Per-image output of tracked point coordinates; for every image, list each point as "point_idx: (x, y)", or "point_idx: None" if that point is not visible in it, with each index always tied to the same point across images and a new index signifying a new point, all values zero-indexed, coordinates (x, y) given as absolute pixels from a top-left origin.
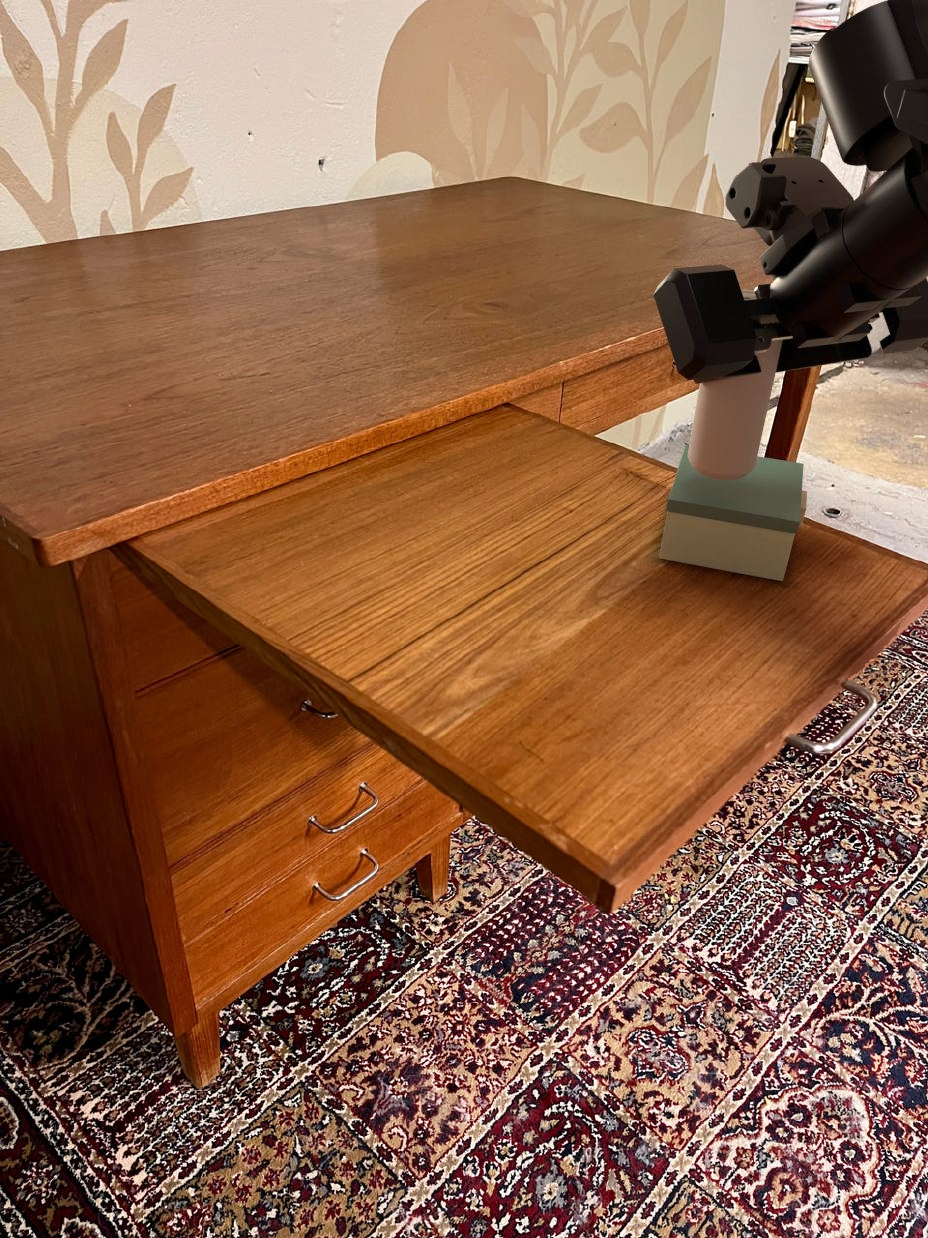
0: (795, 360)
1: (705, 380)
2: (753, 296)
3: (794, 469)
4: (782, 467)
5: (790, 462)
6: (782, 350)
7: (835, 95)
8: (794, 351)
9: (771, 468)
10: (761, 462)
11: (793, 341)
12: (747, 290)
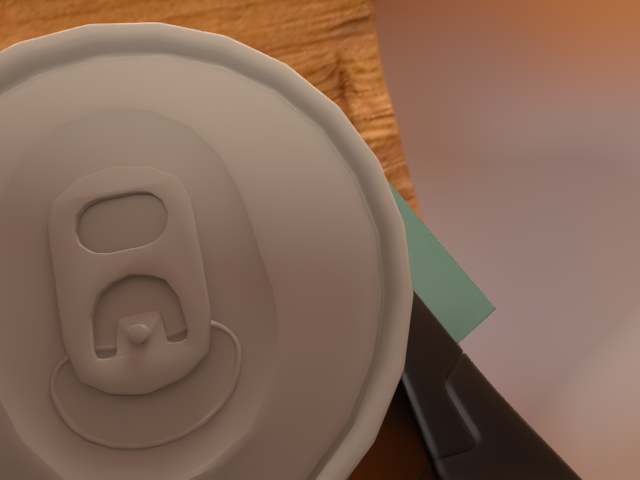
0: (352, 476)
1: None
2: (234, 205)
3: (459, 319)
4: (446, 300)
5: (476, 293)
6: None
7: None
8: (364, 463)
9: (422, 294)
10: (425, 265)
11: (375, 453)
12: (295, 89)
